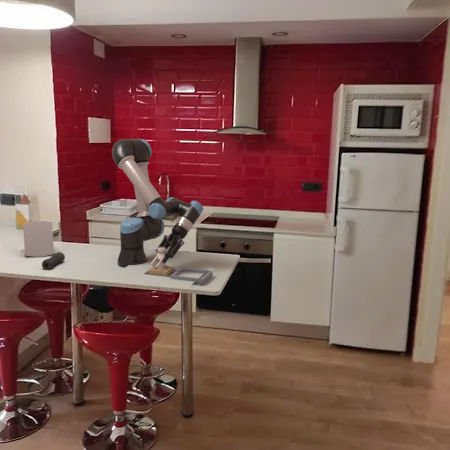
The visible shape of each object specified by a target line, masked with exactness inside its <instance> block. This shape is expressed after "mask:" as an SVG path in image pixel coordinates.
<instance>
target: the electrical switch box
mask: <svg viewBox="0 0 450 450" xmlns="http://www.w3.org/2000/svg"><path fill="white" fill-rule="evenodd" d="M22 225H23V226H22V228H23V245H24V255H25V256H26V257H34V258H35V257H36V258H41V257H46V256H49V255H50V256H51V255H54V254H55V252H54V251H55V250H54V232H53V222H52V221H45V220H38V219H37V220H34V221H33V220H32V221H29V222H24V223H23V224H22Z"/></svg>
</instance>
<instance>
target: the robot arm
mask: <svg viewBox="0 0 450 450" xmlns="http://www.w3.org/2000/svg"><path fill="white" fill-rule="evenodd" d="M152 154H153V153H152V147H151V145H150V143H149V142H148V141H146V140H145V139H142V138H141V139H140V138H123V139H119V140H117V141H116V142H115V143H114V144H113V146H112V149H111V157H112V159H113V161H114V164H115V165H116V166H117V167H118V169H120V170H122V171H123V173H124V174H125V175H126V177H127V178H128V179H129V181H130V182H131V183H132V185H133V188H134V189H133V190H134V194H135V200H136V207H137V211H138V213H137V215H136V217H129V218H125V219H123V220H122V221H121V222H120V228H119V232H120V233H119V236H120V237H119V238H120V252H119V254H118V257H117V266H119V267H121V268H127V267H128V266H139V265H143V264H146V263H147V262H148V258H147V255H146V253H145V249H144V247H145V246H144V242H147V241H150V240H156V239H157V238H160V237H161V236H162V235H163V233H164V231H165V222H164V220H163V218H167V217H172V216H179V218H178V220H177V221H176V223H175V224H174V226H173V227H172V229H171V233H170V234H169V235H166V234H165V235H164V236H163V238H162V239H161V242H160V243H159V245H158V247H165V248H166V252H165V254H164V255H163V257H162V258H161V260H160V261H159V263H158V252H157V248H158V247H157V248H156V249H155V252H156V254H155V256H154V258H153V259H152V261H151V263H150V265H151V266H152V267H155V266H156V267H157V268H159V269H161V268H162V266H163V265H164V263H165V264H166V263H167V261H168V260H169V259H173V258H174V257H175V255H176V254H177V253H178V252H179V250H180V249H181V247H182V246H183V245H185V241H184V240H183V239H185V238H186V237H187V236H188V233H189V232H190V230H191V229H192V227H193V226H194V225H195V223H196V222H197V220H198V219H199V217H201V215H202V213H203V211H204V206H203V205H202V204H201V203H200V202H199V201H197V200H191V202H189V203H188V202H187V201H186V202H185V201H183V200H180V199H178V198H176V197H173V196H172V197H168V198H167V199H166V200H164V199H163V198H162V197H161V195H160V194H159V192H158V191H157V190H156V188H155V187H154V186H153V184H152V183H151V180H150V176H149V170H148V165H149V164H150V161H149V159H151V156H152Z"/></svg>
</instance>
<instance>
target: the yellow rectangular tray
mask: <svg viewBox="0 0 450 450" xmlns="http://www.w3.org/2000/svg"><path fill="white" fill-rule="evenodd" d="M165 265H166V264H165ZM177 270H178V269H175V266H174V265H166V270H159V269H158V268H157V267H156V266H155V267H153V266H152V267H151V268H149V269H148V270H147V271H145V272H144V273H143V275H147V276H157V277H166V278H171V275H172V274H173V273H175V272H176V271H177Z"/></svg>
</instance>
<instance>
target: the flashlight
mask: <svg viewBox="0 0 450 450" xmlns="http://www.w3.org/2000/svg"><path fill="white" fill-rule="evenodd" d="M50 256H51V255H50ZM65 259H66V255H65V254H64V253H63V252H62V251H58V252H56V253H55V252H54V253H53V254H52V256H51V257H48V258H46V259H44V260H42V263H41V267H42V269H44V270H46V271H48V270H51V269H52V268H53V267H54V266H56V265H59V264H61V263H62V262H64V261H65Z"/></svg>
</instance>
